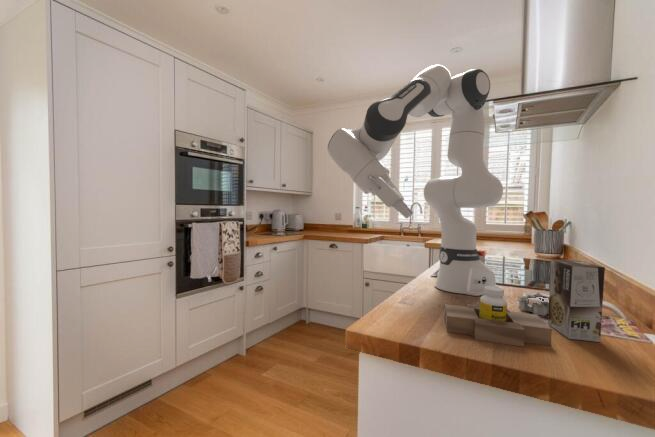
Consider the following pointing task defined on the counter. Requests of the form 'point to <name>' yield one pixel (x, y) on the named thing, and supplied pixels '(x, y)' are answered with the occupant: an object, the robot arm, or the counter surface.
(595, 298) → the coffee box
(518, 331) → the walnut cross stand
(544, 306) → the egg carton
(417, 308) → the counter surface
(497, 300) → the supplement bottle
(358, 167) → the robot arm
